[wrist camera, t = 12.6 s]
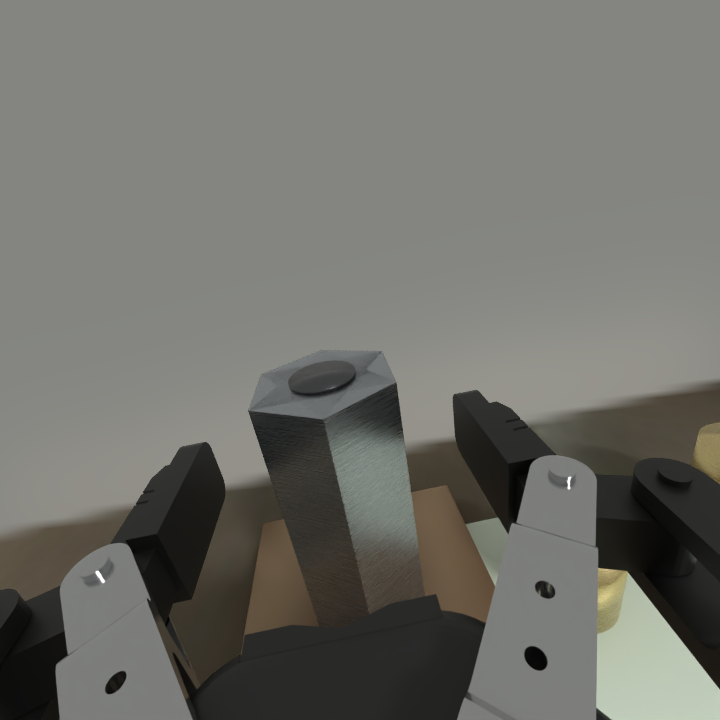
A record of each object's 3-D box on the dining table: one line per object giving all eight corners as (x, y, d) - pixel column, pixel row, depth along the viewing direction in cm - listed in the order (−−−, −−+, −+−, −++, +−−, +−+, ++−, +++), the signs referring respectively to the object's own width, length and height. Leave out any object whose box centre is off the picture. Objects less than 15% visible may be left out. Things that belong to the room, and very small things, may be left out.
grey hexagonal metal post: (406, 538, 17) (376, 337, 13) (436, 649, 12) (405, 399, 9) (322, 556, 17) (265, 358, 13) (323, 675, 12) (237, 431, 8)
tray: (448, 501, 20) (446, 484, 19) (561, 750, 11) (563, 730, 10) (268, 539, 19) (263, 523, 19) (226, 832, 10) (213, 814, 10)
